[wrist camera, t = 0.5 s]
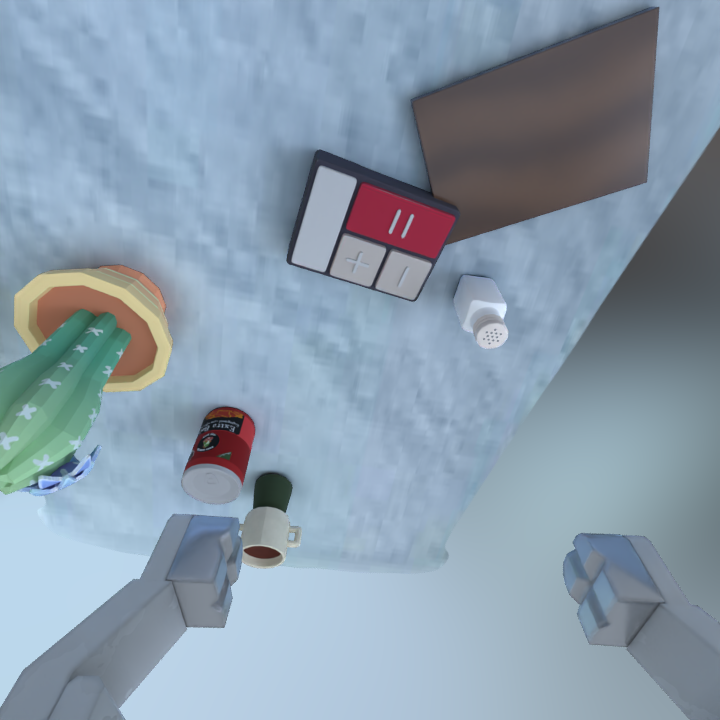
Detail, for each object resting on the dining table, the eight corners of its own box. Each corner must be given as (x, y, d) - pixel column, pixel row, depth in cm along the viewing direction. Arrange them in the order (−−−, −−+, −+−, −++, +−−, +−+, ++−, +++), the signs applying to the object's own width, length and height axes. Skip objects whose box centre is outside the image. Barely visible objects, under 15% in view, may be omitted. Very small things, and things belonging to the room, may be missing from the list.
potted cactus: (69, 340, 55) (-89, 520, 35) (40, 223, 45) (-200, 380, 26) (195, 359, 57) (111, 539, 37) (191, 251, 48) (76, 415, 28)
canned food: (245, 401, 62) (227, 464, 53) (264, 438, 66) (250, 501, 58) (195, 409, 63) (169, 472, 54) (217, 445, 67) (196, 508, 59)
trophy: (243, 493, 75) (225, 567, 65) (240, 467, 71) (220, 543, 61) (306, 496, 76) (298, 570, 66) (307, 471, 71) (298, 546, 61)
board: (410, 99, 39) (411, 101, 38) (651, 6, 35) (659, 6, 34) (442, 241, 47) (444, 245, 46) (640, 178, 43) (647, 182, 42)
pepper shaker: (460, 271, 49) (479, 317, 42) (494, 276, 50) (518, 322, 42) (450, 302, 52) (466, 350, 44) (482, 306, 52) (504, 354, 45)
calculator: (416, 306, 48) (284, 267, 44) (411, 287, 52) (288, 248, 48) (464, 215, 42) (315, 159, 38) (454, 199, 45) (316, 147, 41)
